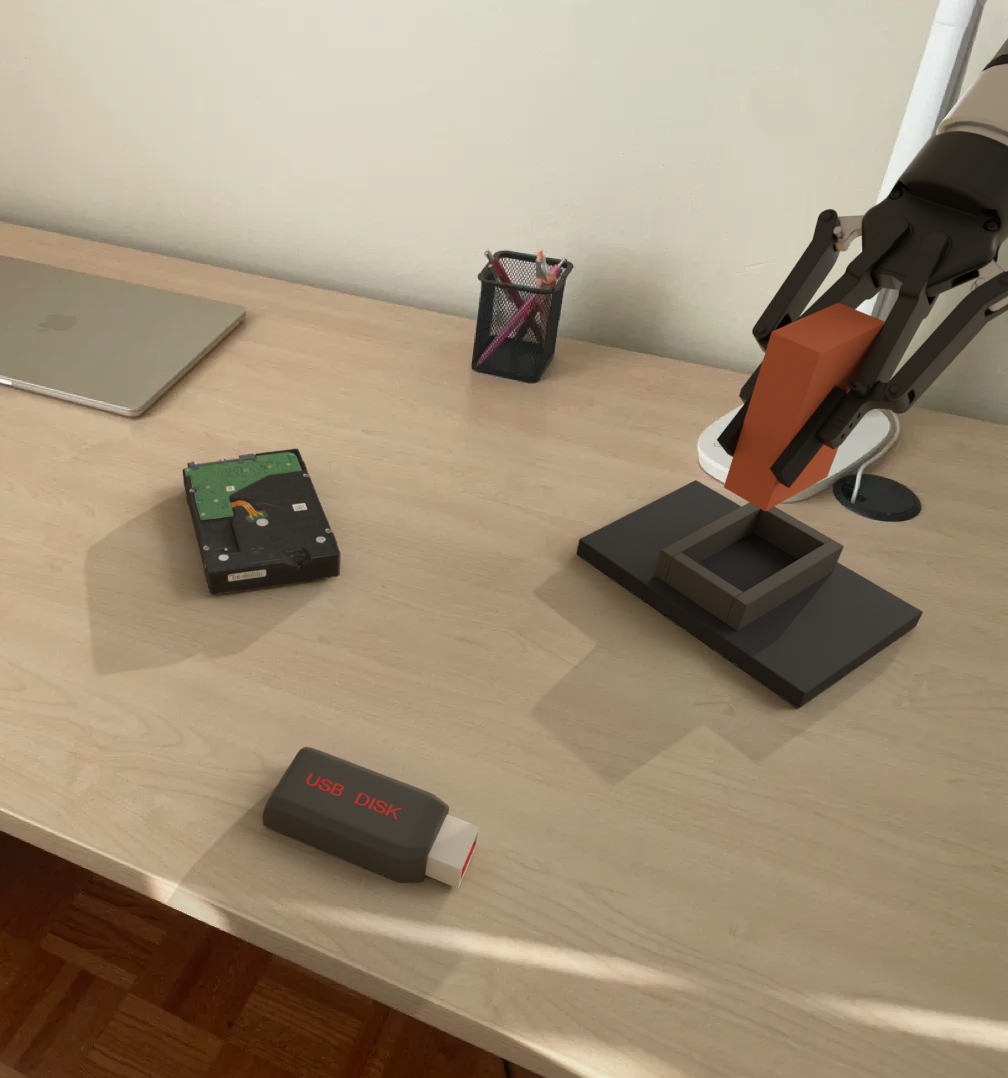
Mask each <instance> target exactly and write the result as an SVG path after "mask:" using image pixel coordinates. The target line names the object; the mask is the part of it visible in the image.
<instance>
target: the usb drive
mask: <svg viewBox="0 0 1008 1078" xmlns="http://www.w3.org/2000/svg"><path fill="white" fill-rule="evenodd" d="M449 813H450V806H449V805H448V803H446V802H445V801H443V799H441V798H440V797H438V796H437V795H435V793H432V792H429V791H426V789H425V790H424V789H422V788H419V787H416V786H414V785H411V784H409V783H406V782H403V781H402V780H399V779H396V778H393V777H391V776H388V775H385V774H383V773H380V772H377V771H375V770H372V769H370V768H367V767H364V766H362V765H358V764H356V763H353V762H351V761H349V760H345V759H343V758H340V757H338V756H335V755H333V754H330V753H327V752H325V751H322V750H319V749H317V748H313V747H310V746H303V747H302V748H300V749H299V750H298V752H297V754H296V755H295V756H294V758H293V760H291V763H290V764H289V766H288V768H287V769H286V770H285V772H284V773H283V776H282V777H281V778H280V780H279V782H278V783H277V784H276V787H275V788H274V790H273V791H272V792H271V794H270V795H269V798H268V799H267V801H266V804H265V806H264V808H263V812H262V825H263V826H264V827H266V828H267V829H270V830H273V831H275V832H277V833H280V834H282V835H284V836H287V837H289V838H291V839H294V840H296V841H298V842H301V843H304V844H306V845H308V846H310V847H313V848H315V849H317V850H320V851H322V852H324V853H327V854H330V855H332V856H334V857H336V858H339V859H342V860H343V861H346V862H349V863H351V864H354V865H356V866H358V867H360V868H363V869H366V870H368V871H370V872H372V873H375V874H377V875H379V876H381V877H384V878H387V879H390V880H392V881H395V882H396V883H422V882H424V880H425V877H426V876H427V877H429V878H431V879H434V880H436V881H439V882H441V883H443V884H446V885H448V886H450V887H452V888H456V889H460V885H461V883H462V881H463V879H464V876H465V874H466V871H467V869H468V867H469V864H470V862H471V860H472V858H473V856H474V853H475V851H476V848H477V846H478V840H479V836H480V830H481V827H480V826H478V825H476V824H473V823H471V822H469V821H466V820H463V819H461V818H458V817H455V816H453V815H450V814H449Z"/></svg>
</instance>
